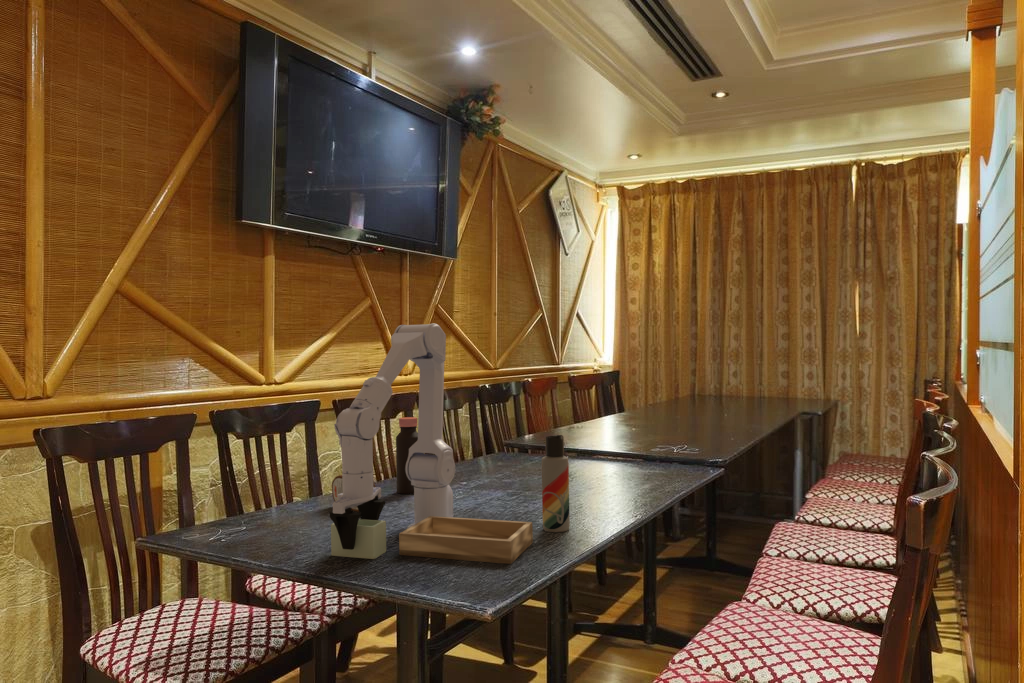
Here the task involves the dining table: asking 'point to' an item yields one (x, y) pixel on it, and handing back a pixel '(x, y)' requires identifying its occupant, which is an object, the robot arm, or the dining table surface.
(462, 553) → the pine crate
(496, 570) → the dining table surface
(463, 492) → the dining table surface
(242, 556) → the dining table surface
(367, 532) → the small crate
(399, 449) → the vinegar
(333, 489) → the tin
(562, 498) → the lotion bottle
